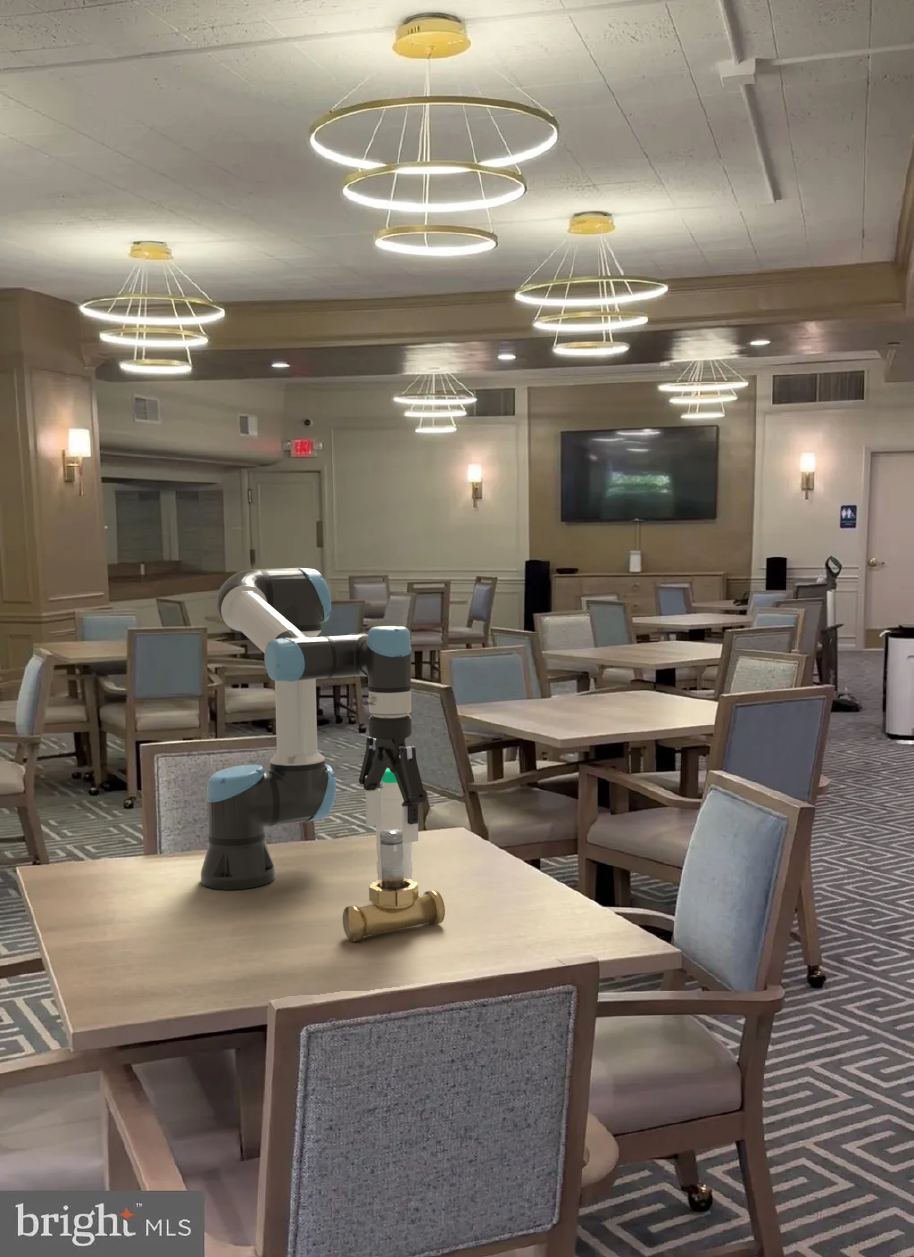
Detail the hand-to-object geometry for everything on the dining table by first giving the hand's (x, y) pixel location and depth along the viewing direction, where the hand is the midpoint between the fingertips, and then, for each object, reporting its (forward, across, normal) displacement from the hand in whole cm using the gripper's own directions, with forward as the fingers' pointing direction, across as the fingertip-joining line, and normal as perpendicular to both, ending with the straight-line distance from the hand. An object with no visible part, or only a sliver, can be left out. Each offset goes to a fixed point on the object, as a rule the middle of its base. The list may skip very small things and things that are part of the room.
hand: (391, 833), depth 201 cm
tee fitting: (+18, +1, 0) cm, 18 cm away
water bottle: (+18, -19, +11) cm, 29 cm away
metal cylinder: (+12, +1, 0) cm, 12 cm away
